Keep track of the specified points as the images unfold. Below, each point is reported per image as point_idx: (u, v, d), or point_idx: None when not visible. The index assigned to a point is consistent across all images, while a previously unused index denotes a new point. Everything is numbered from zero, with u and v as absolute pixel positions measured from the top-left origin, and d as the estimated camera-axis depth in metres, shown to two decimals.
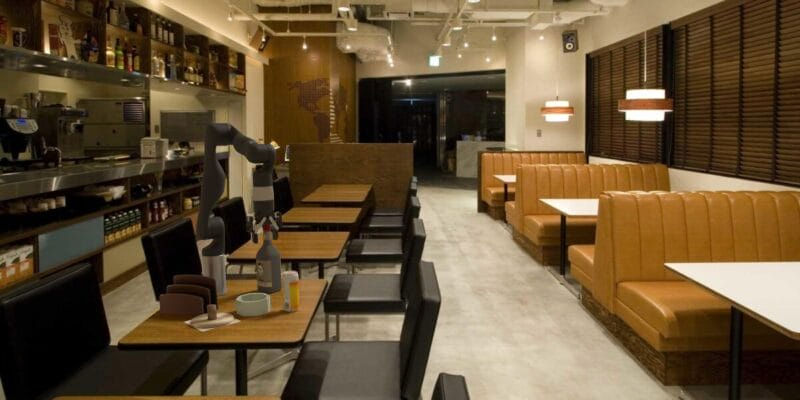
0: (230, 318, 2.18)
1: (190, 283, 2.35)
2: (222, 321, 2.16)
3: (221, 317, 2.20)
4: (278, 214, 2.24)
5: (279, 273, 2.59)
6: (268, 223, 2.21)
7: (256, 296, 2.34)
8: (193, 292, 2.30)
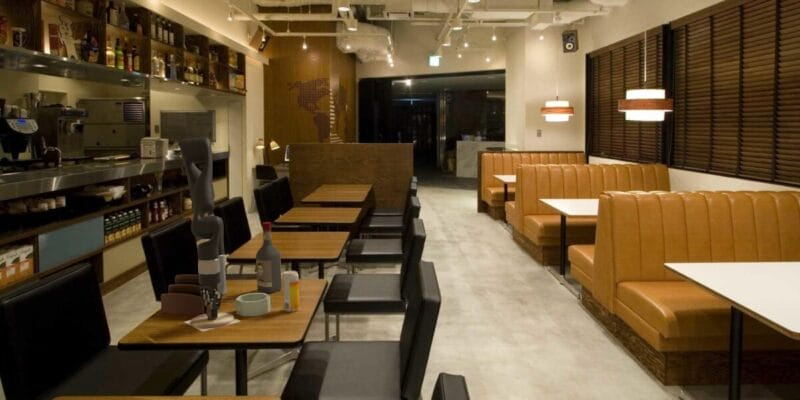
0: (230, 318, 2.18)
1: (191, 283, 2.36)
2: (222, 320, 2.16)
3: (221, 317, 2.20)
4: None
5: (279, 273, 2.59)
6: None
7: (256, 296, 2.34)
8: (194, 292, 2.30)
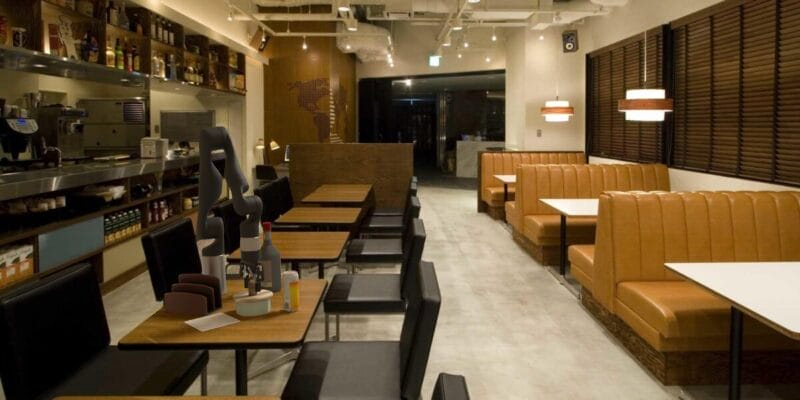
0: (270, 294, 2.29)
1: (195, 282, 2.37)
2: (263, 296, 2.27)
3: (261, 293, 2.31)
4: None
5: (279, 273, 2.59)
6: None
7: None
8: (197, 291, 2.31)
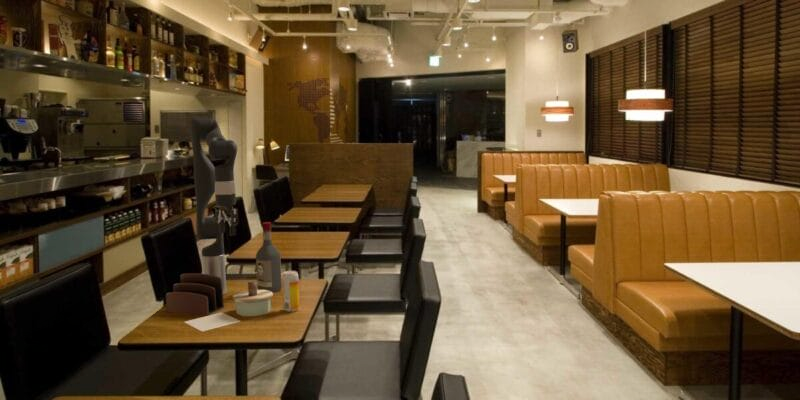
0: (270, 294, 2.29)
1: (196, 282, 2.37)
2: (263, 296, 2.27)
3: (261, 293, 2.31)
4: None
5: (279, 273, 2.59)
6: None
7: None
8: (199, 291, 2.32)
